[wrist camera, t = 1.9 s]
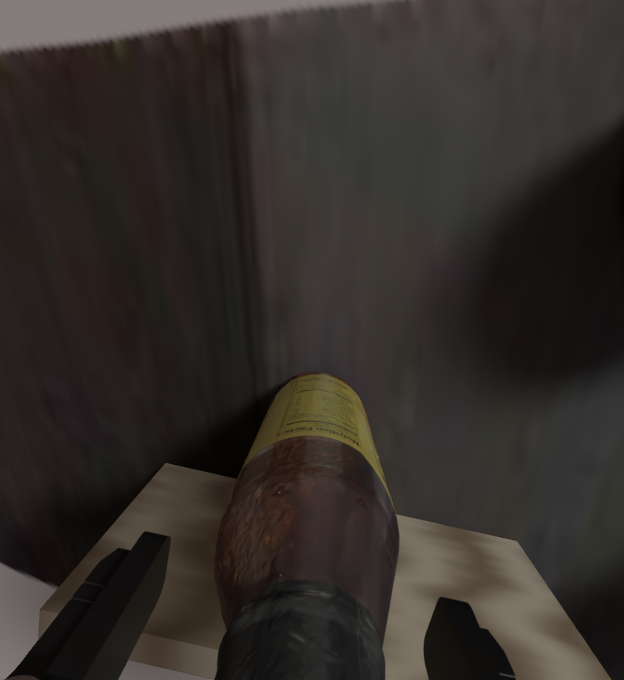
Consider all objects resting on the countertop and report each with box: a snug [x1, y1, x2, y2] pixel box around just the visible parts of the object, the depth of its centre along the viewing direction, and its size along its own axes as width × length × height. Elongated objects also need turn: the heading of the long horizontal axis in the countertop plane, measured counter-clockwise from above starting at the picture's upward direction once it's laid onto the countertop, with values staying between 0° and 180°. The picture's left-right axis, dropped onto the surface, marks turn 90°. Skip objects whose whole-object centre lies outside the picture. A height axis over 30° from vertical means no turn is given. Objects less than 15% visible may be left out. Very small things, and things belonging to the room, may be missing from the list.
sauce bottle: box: [214, 372, 400, 680], centre depth 14 cm, size 6×6×20 cm
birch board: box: [39, 463, 611, 680], centre depth 20 cm, size 26×2×11 cm, turn 78°
